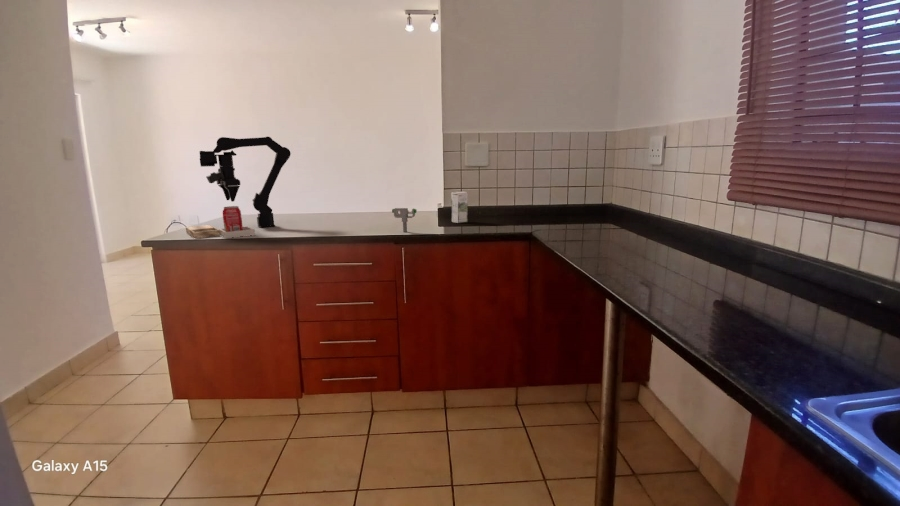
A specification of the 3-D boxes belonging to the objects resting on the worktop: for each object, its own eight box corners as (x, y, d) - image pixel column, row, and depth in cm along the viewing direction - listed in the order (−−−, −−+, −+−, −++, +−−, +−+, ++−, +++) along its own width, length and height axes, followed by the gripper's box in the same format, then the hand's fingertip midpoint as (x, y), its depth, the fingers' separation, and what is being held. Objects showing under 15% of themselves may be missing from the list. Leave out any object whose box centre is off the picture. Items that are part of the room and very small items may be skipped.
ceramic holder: (248, 231, 206) (247, 226, 205) (255, 235, 197) (254, 229, 196) (219, 234, 199) (218, 229, 199) (225, 238, 190) (224, 232, 190)
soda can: (234, 233, 203) (231, 205, 200) (247, 234, 200) (244, 206, 198) (221, 236, 196) (217, 207, 194) (234, 236, 194) (230, 208, 191)
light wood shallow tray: (210, 230, 212) (210, 224, 212) (219, 235, 197) (219, 229, 196) (186, 232, 207) (185, 227, 206) (194, 238, 191) (193, 232, 191)
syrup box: (461, 220, 228) (460, 191, 225) (468, 222, 223) (467, 191, 220) (451, 222, 225) (450, 191, 222) (458, 223, 220) (457, 192, 217)
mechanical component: (415, 232, 195) (414, 209, 193) (392, 232, 197) (391, 208, 195) (417, 231, 198) (416, 208, 196) (394, 231, 200) (393, 208, 198)
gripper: (202, 166, 212) (206, 200, 215) (210, 166, 198) (215, 203, 201) (229, 165, 219) (232, 199, 222) (238, 166, 204) (242, 201, 207)
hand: (230, 200), depth 213 cm, fingers open, 9 cm apart
